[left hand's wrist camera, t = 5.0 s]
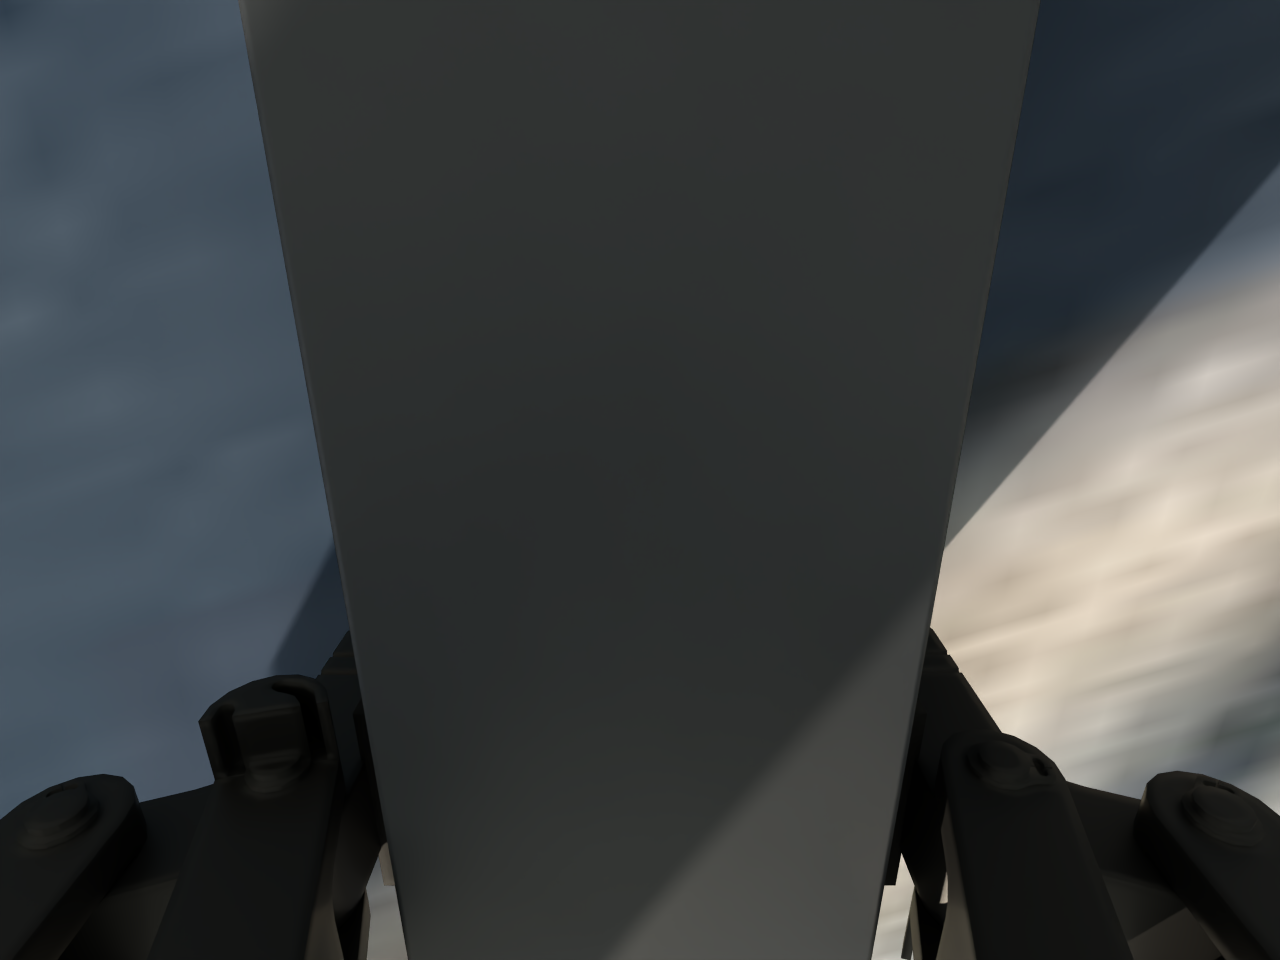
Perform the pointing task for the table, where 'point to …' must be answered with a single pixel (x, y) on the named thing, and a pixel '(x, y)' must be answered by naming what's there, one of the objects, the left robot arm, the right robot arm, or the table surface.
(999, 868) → the left robot arm
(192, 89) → the table surface
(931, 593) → the beam
